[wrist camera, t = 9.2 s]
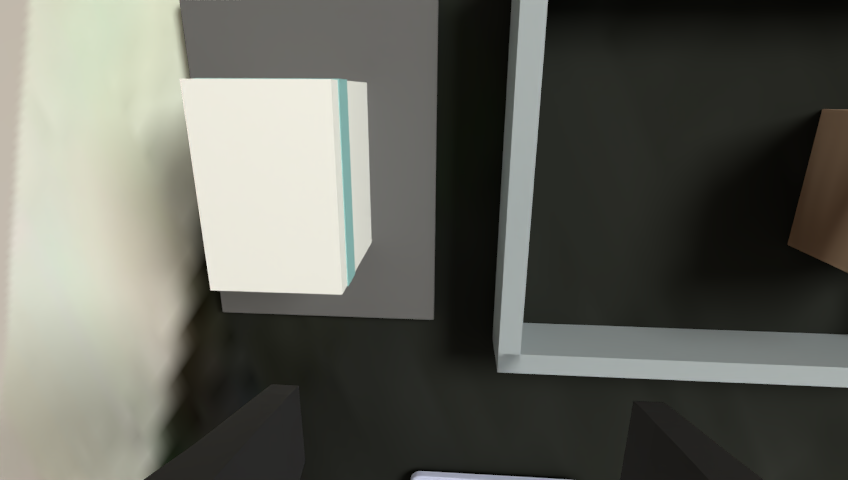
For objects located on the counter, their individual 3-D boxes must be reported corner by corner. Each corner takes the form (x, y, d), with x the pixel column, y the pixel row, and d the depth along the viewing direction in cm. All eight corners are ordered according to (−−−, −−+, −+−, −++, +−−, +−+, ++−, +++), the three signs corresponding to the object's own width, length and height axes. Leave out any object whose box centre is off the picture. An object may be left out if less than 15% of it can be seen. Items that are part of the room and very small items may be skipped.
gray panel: (434, 315, 20) (433, 319, 19) (227, 308, 20) (222, 312, 20) (438, 0, 16) (437, -2, 16) (185, 1, 17) (179, 0, 16)
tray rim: (916, 355, 19) (983, 393, 16) (492, 338, 20) (497, 372, 17) (1063, -39, 15) (1182, -65, 12) (513, -33, 16) (523, -56, 13)
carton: (367, 81, 17) (331, 77, 12) (372, 243, 18) (343, 295, 14) (256, 81, 17) (178, 77, 12) (272, 240, 19) (209, 291, 14)
